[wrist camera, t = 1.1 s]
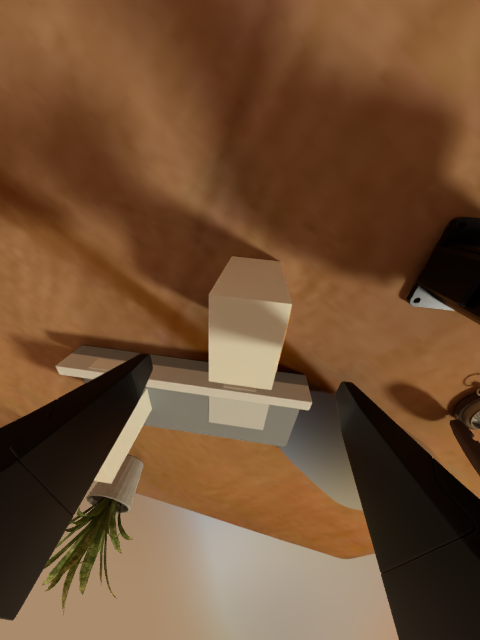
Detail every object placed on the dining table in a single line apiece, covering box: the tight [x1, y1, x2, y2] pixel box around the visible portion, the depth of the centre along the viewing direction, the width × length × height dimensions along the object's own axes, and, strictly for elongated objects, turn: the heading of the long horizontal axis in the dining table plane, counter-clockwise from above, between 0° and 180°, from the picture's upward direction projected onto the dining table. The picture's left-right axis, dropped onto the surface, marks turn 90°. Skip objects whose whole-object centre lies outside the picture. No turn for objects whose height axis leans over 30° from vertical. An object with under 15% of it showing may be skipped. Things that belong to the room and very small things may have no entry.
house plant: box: [42, 455, 144, 607], centre depth 30 cm, size 14×14×16 cm
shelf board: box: [55, 345, 312, 447], centre depth 24 cm, size 26×12×4 cm, turn 85°
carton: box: [209, 256, 292, 390], centre depth 15 cm, size 4×6×8 cm
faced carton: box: [94, 388, 152, 484], centre depth 21 cm, size 4×6×8 cm
